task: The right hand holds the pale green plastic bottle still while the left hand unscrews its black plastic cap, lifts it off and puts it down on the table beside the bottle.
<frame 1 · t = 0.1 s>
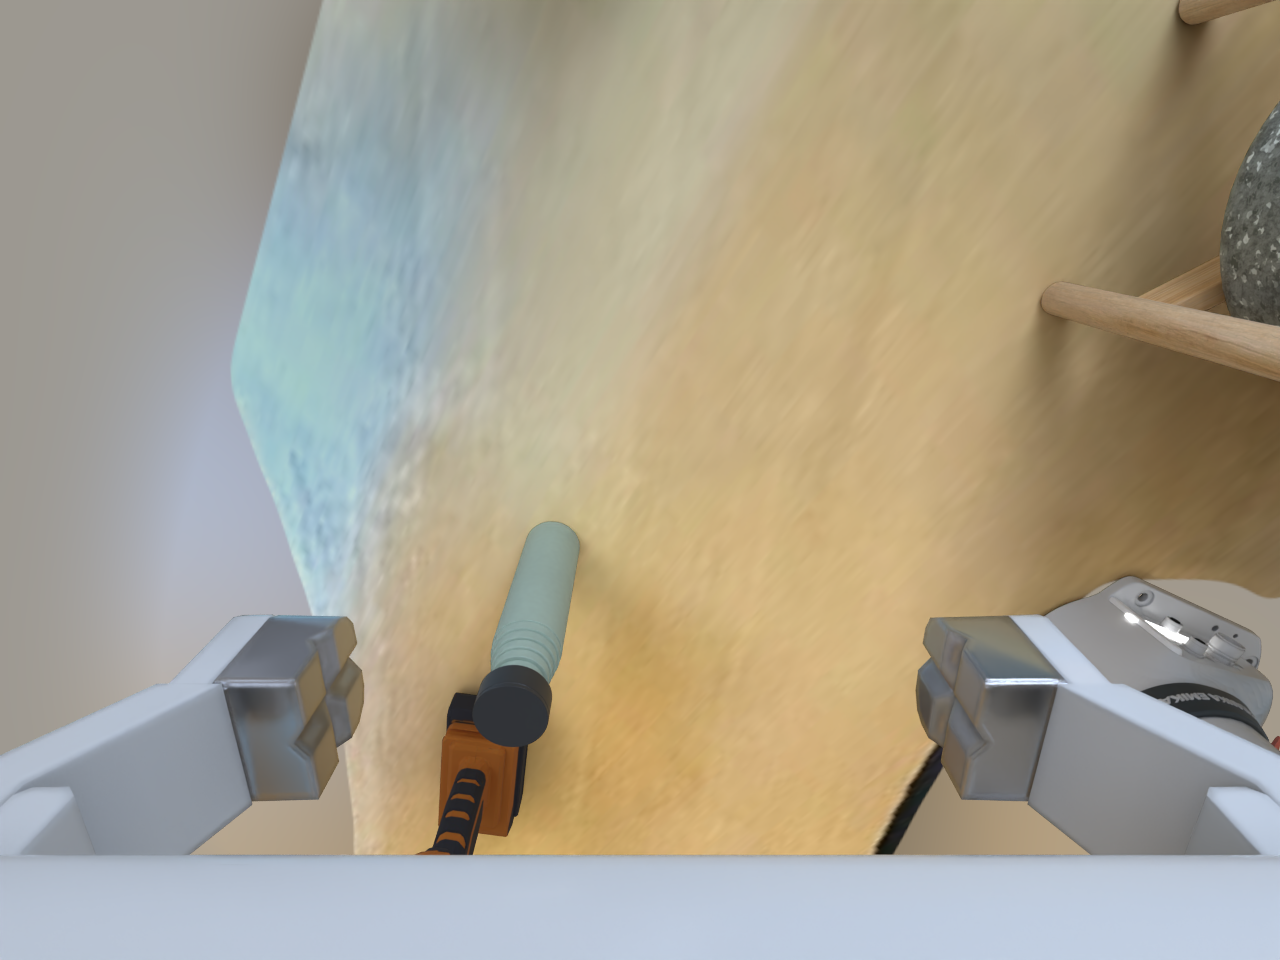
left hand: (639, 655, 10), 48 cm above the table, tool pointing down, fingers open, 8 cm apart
bottle: (552, 545, 63), on the table
cap: (511, 713, 43), point 22 cm above the table, screwed on, not yet turned
power drill: (488, 761, 72), on the table
planter: (1243, 200, 53), on the table
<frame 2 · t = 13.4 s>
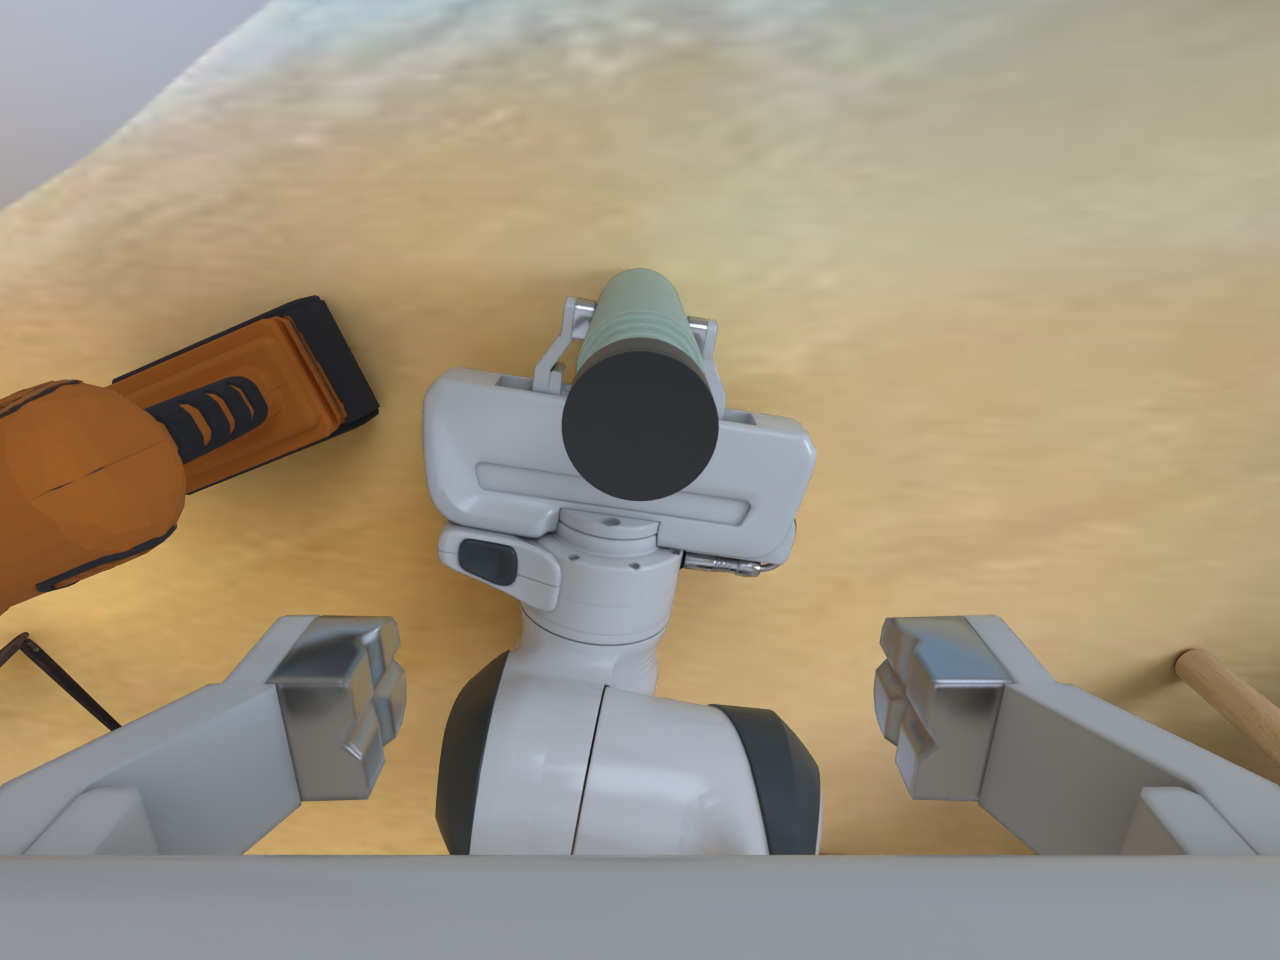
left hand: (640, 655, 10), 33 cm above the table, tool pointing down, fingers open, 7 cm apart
right hand: (641, 309, 36), fingers closed on bottle, 5 cm apart
bottle: (639, 311, 41), on the table, touching right hand
cap: (640, 426, 21), point 22 cm above the table, screwed on, not yet turned
power drill: (228, 404, 43), on the table
eyeglasses: (60, 733, 52), on the table
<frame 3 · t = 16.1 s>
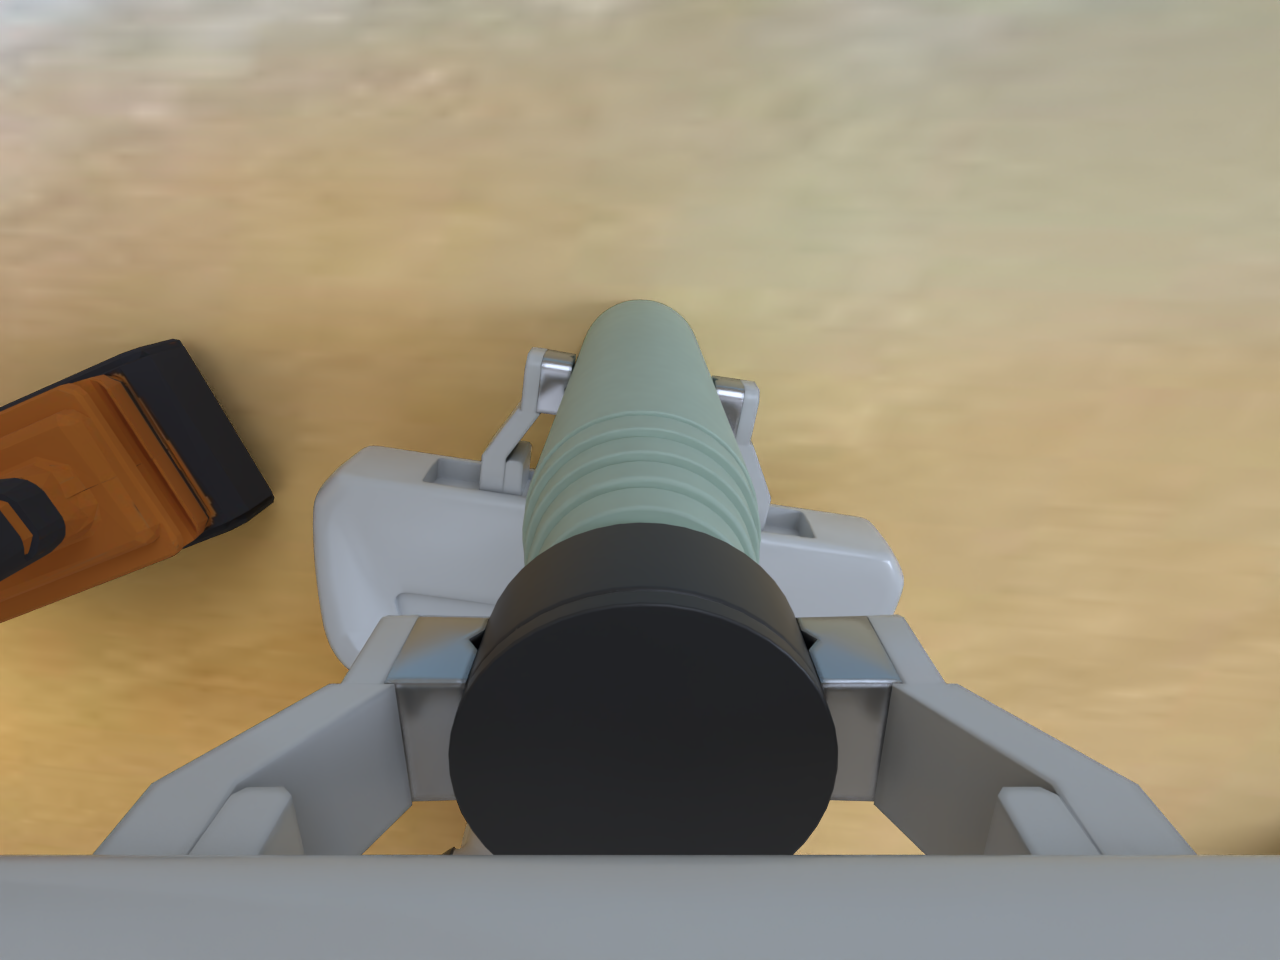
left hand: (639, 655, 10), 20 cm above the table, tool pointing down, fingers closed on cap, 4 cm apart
bottle: (640, 359, 29), on the table, touching right hand
cap: (643, 754, 9), point 22 cm above the table, screwed on, not yet turned, touching left hand
power drill: (67, 485, 31), on the table
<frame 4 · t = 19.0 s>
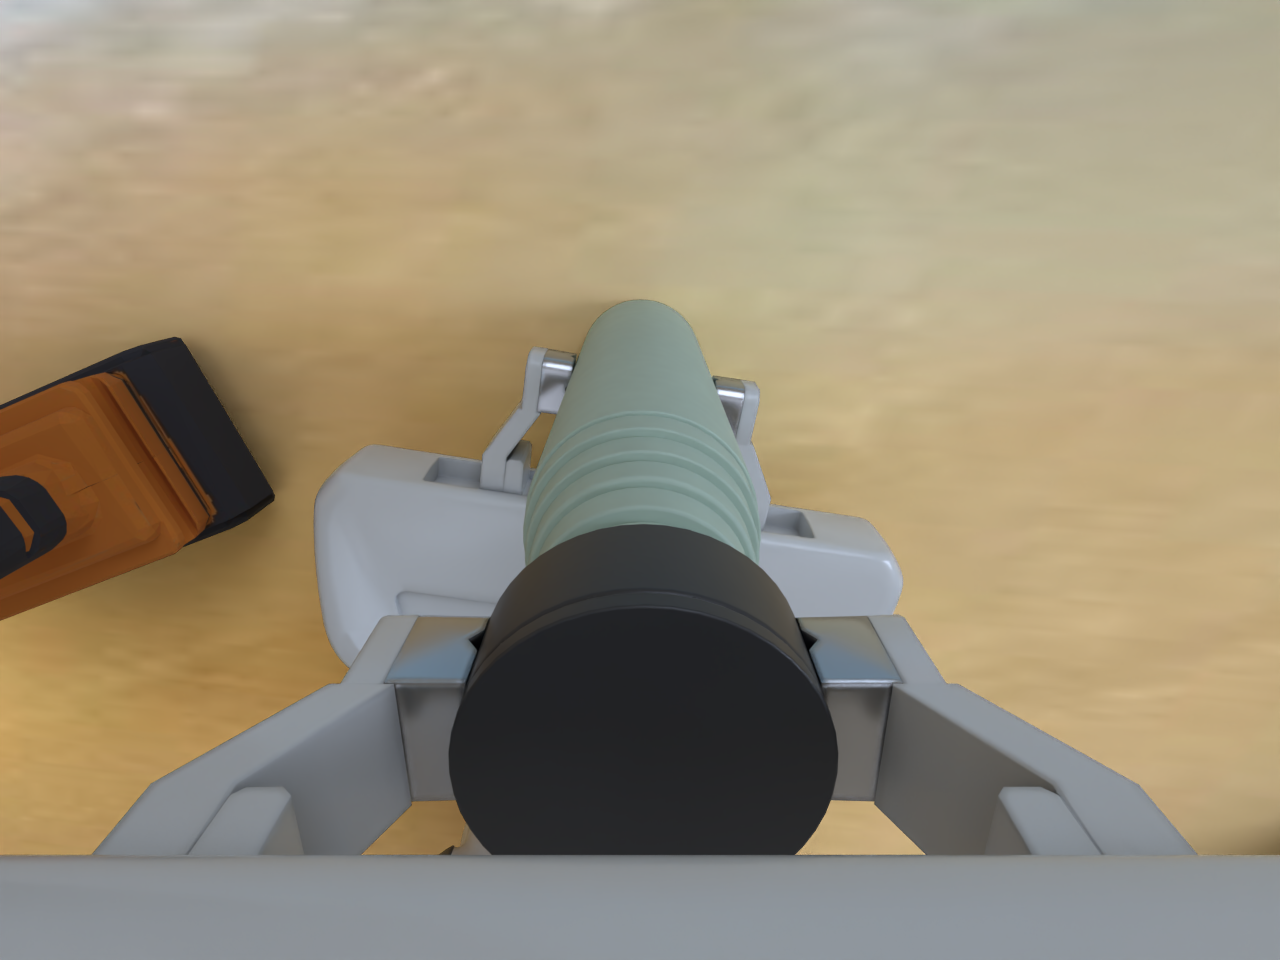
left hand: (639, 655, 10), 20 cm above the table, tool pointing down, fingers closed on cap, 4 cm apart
bottle: (640, 359, 29), on the table, touching right hand
cap: (643, 756, 9), point 22 cm above the table, turned 67° so far, risen 0.1 cm, still on its thread, touching left hand
power drill: (68, 483, 31), on the table
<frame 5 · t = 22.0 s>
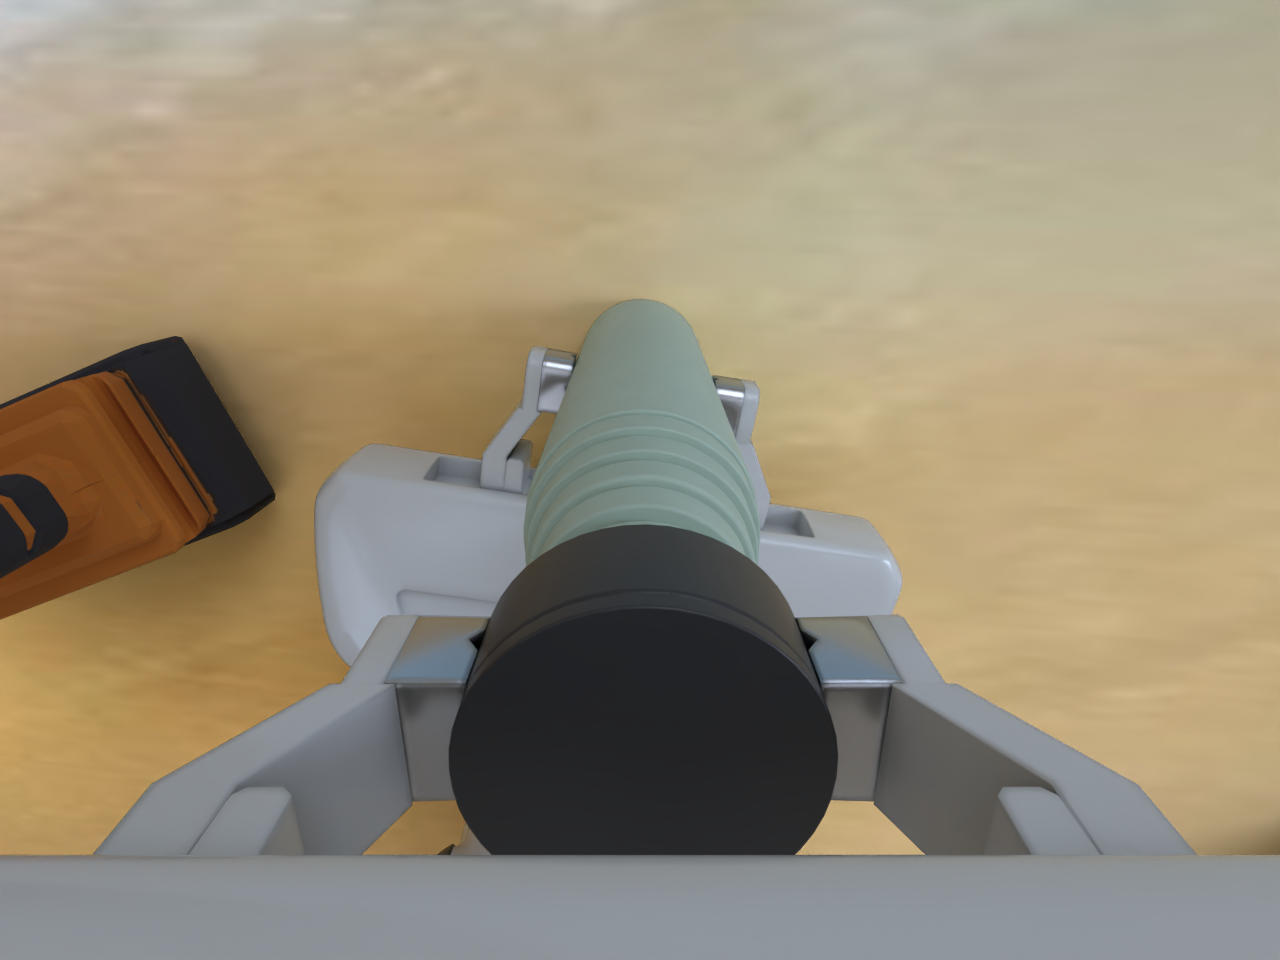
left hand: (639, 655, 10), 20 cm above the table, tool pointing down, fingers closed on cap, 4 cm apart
bottle: (640, 359, 29), on the table, touching right hand
cap: (643, 756, 9), point 22 cm above the table, turned 133° so far, risen 0.1 cm, still on its thread, touching left hand
power drill: (69, 482, 31), on the table
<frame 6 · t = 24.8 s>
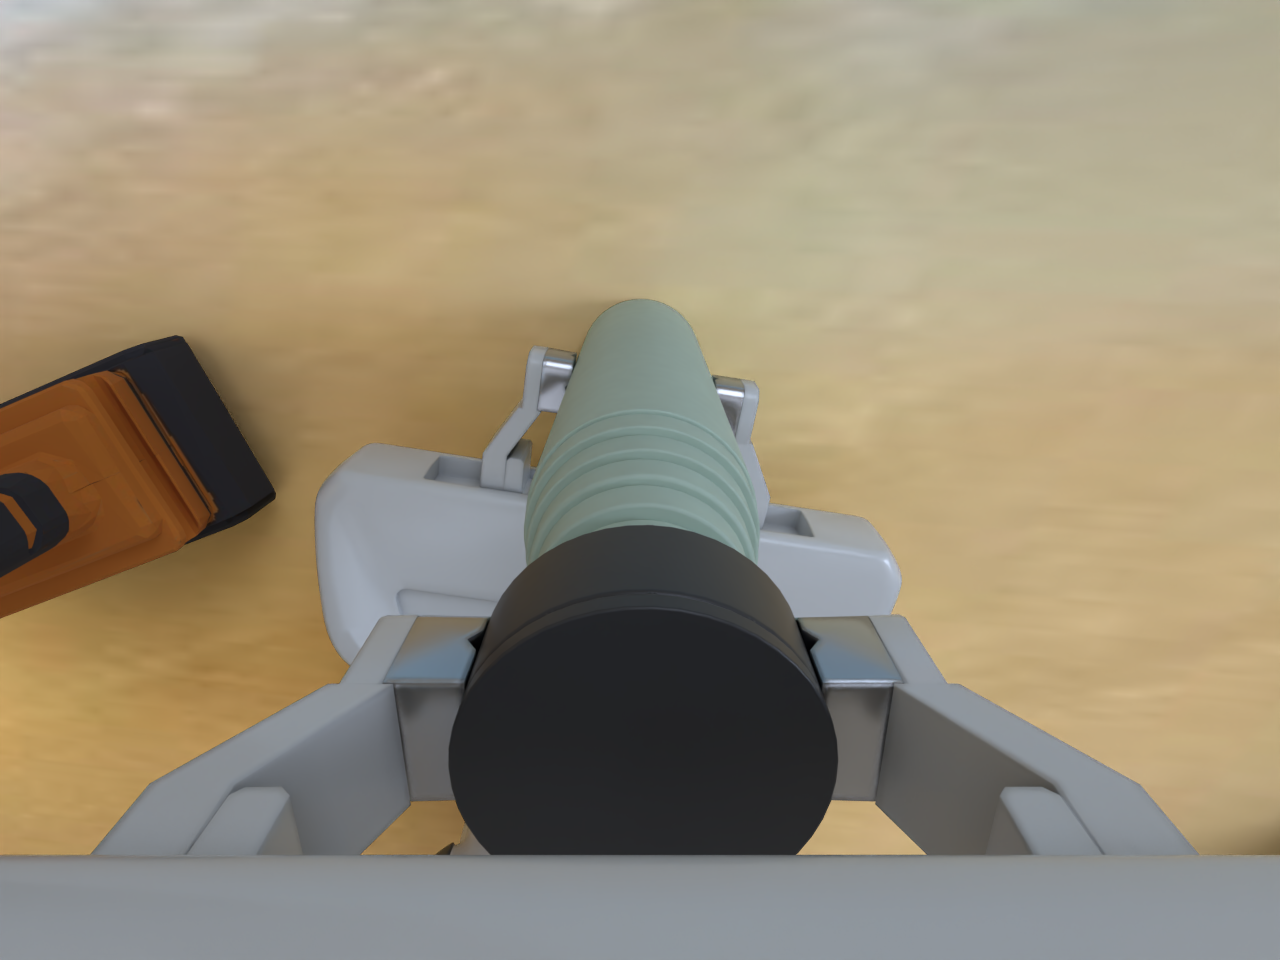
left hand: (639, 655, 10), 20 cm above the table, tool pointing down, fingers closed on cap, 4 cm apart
bottle: (640, 358, 29), on the table, touching right hand
cap: (643, 757, 9), point 22 cm above the table, turned 199° so far, risen 0.2 cm, still on its thread, touching left hand
power drill: (69, 481, 31), on the table
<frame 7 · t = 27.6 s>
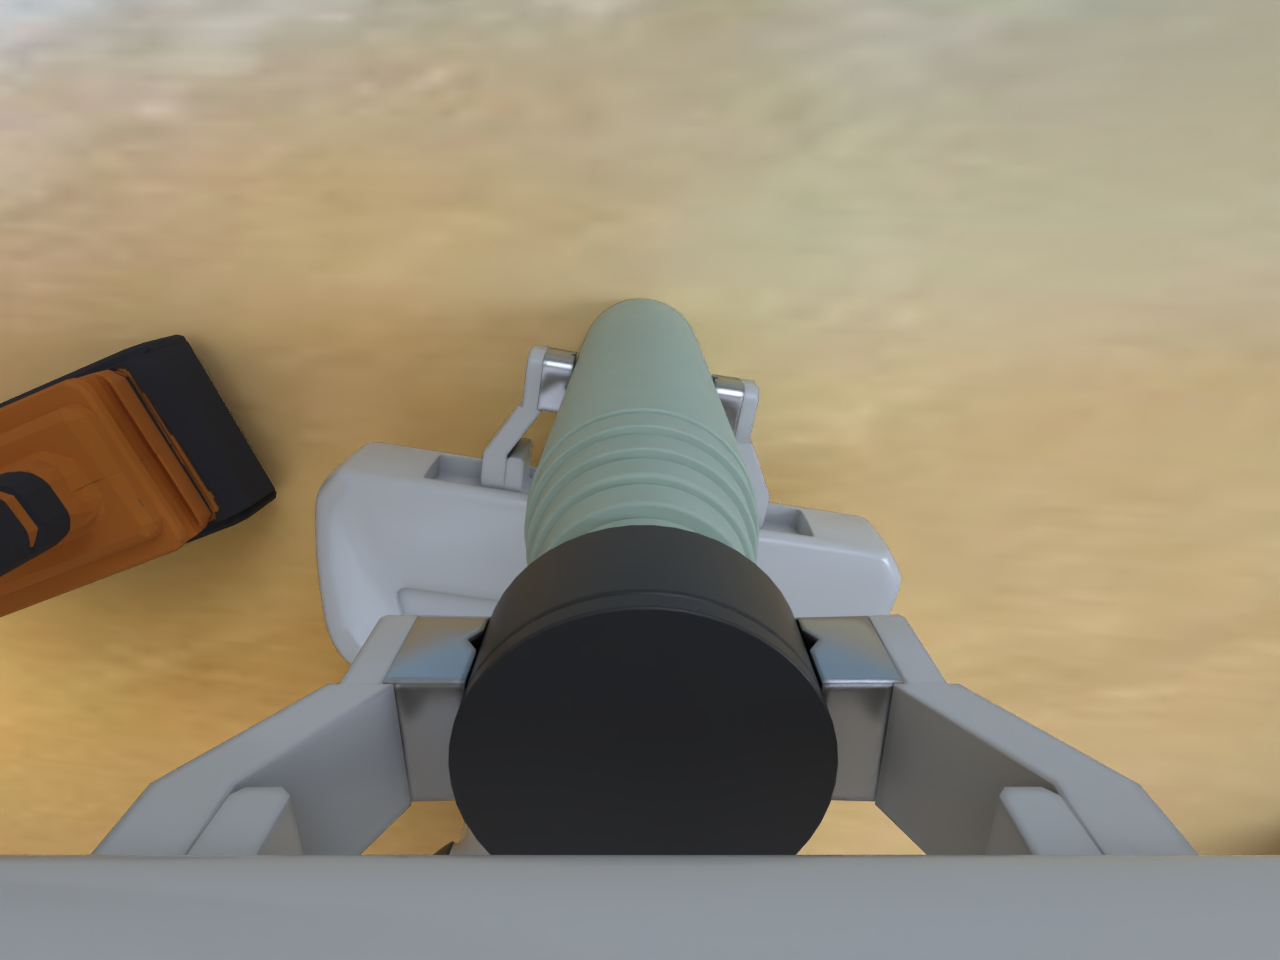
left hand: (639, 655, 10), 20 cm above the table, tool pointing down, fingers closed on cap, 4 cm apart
bottle: (640, 358, 29), on the table, touching right hand
cap: (643, 756, 9), point 22 cm above the table, turned 266° so far, risen 0.2 cm, still on its thread, touching left hand
power drill: (70, 480, 31), on the table
when the left hand's fingers open (2 cm above the table, at t = 36.5 s): cap drops 2 cm, point 2 cm above the table.
when the right hand's fingers open (5 cm above the table, at t = 37.6 s): bottle stays where it is, on the table.
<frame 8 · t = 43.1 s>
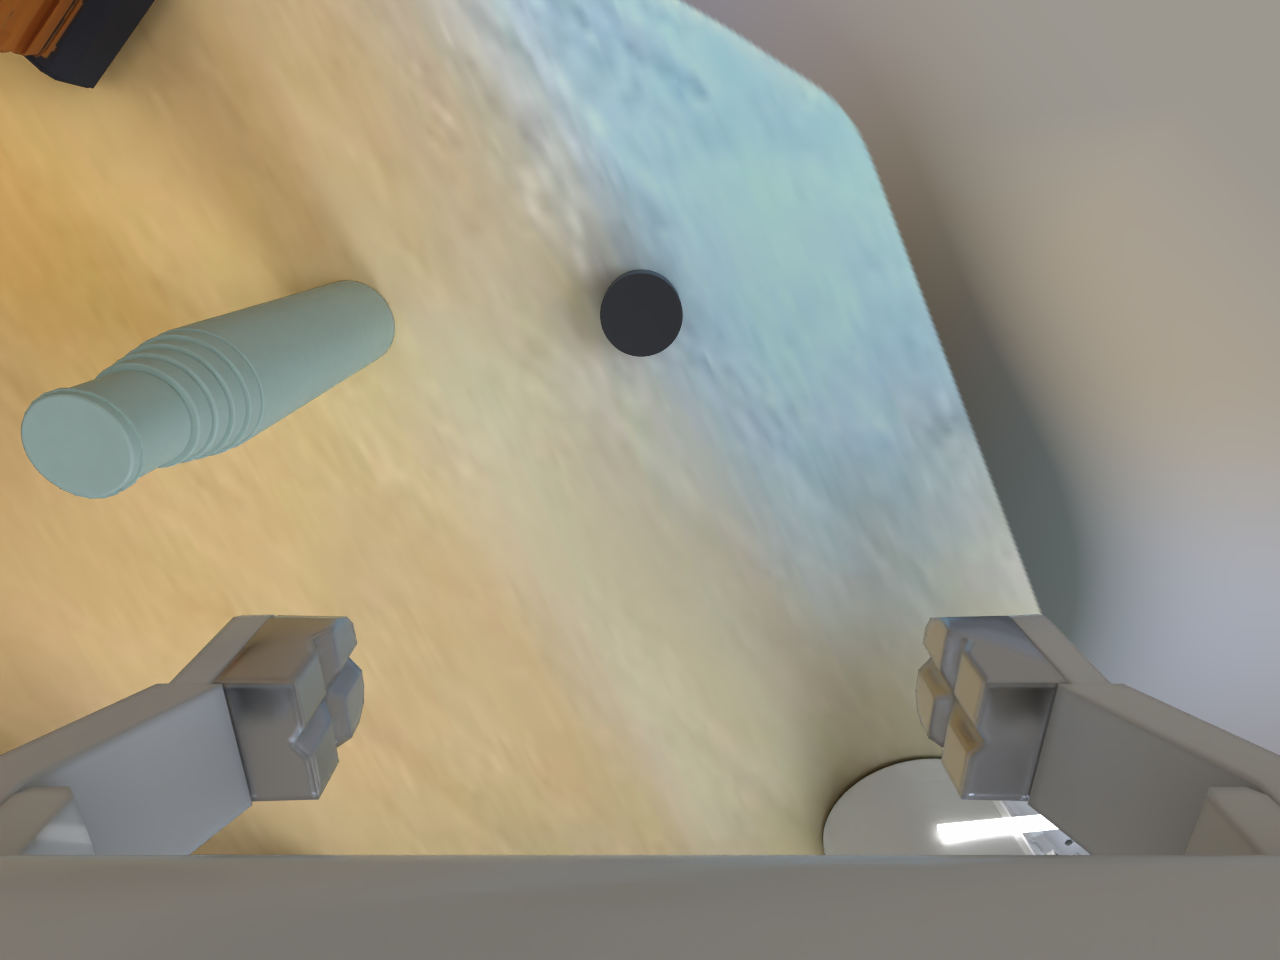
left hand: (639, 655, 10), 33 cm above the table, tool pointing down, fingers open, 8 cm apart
bottle: (353, 322, 41), on the table
cap: (641, 315, 40), point 2 cm above the table, off its thread
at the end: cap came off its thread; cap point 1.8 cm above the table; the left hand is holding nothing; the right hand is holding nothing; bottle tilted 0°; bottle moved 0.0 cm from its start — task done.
